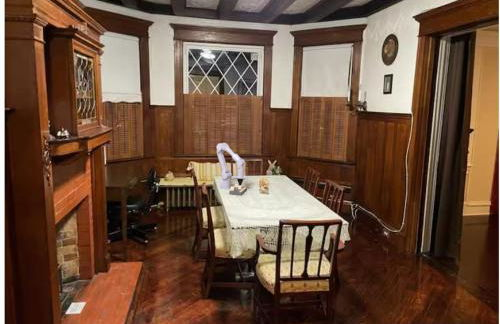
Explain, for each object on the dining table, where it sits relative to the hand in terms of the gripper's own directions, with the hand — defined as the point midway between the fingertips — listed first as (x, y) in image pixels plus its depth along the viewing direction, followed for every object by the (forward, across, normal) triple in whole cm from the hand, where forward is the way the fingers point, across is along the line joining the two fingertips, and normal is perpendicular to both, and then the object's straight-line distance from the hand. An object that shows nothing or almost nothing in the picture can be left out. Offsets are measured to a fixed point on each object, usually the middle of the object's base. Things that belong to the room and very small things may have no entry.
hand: (240, 186), depth 350 cm
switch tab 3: (+1, +2, -7) cm, 7 cm away
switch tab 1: (+1, -3, -14) cm, 14 cm away
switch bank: (+4, 0, -7) cm, 8 cm away
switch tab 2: (+1, -3, 0) cm, 3 cm away
